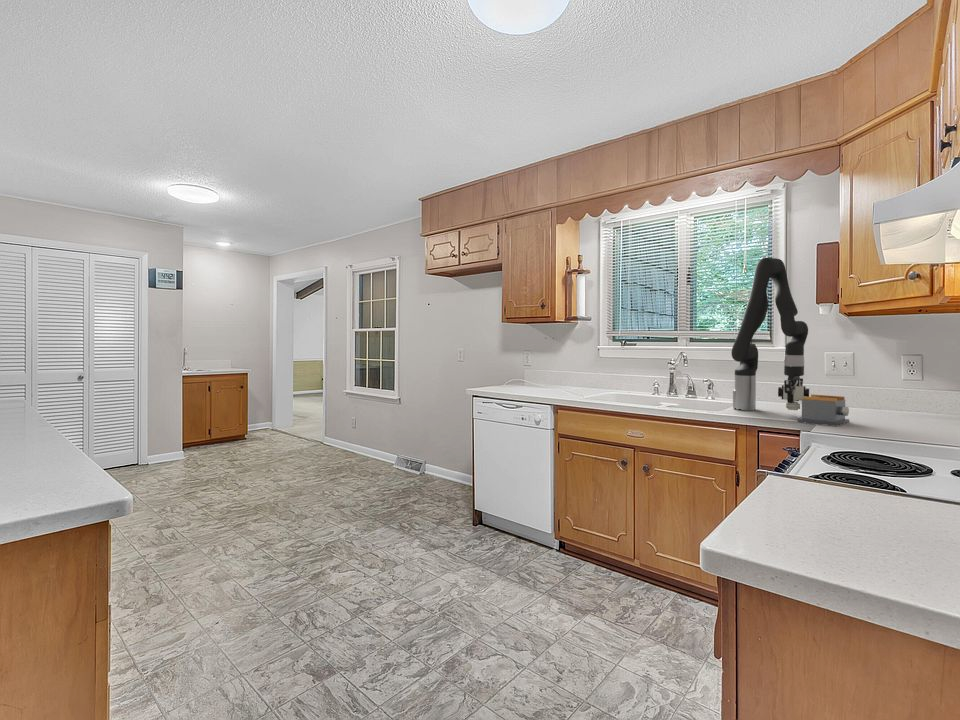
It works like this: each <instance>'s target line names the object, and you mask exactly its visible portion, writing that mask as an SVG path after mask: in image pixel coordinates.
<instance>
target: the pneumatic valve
mask: <svg viewBox="0 0 960 720" xmlns="http://www.w3.org/2000/svg"><path fill="white" fill-rule="evenodd" d="M792 387H794V386H792ZM777 388H778V389H777V396H778V398H781V400H786V401H787V393H785V387H784V384H782V385H781V387H777ZM792 395H793V403H788V402H786V404H785V406H786V407H785V408H786V409H787V410H789V411H798V410H800V409H801V403H799V401H801V402H802V397H803V396H808V397H810V388H807V387H806V385H803V386H796V390H794V393H793V394H792ZM797 400H799V401H797Z"/></svg>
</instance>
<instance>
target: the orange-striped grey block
mask: <svg viewBox="0 0 960 720" xmlns="http://www.w3.org/2000/svg"><path fill="white" fill-rule="evenodd" d="M849 413H850V408H849V406H846V398H845V396H839V395H828V394H827V395H826V394H825V395H824V394H810V396H809V397H808V396H803V397H802V401H801V417H800V418H798V419H797V422H798V423H803V422H806V423H805V424H812V423H813V424H815V425H821V424H828V425H827V426H830V425H839V426H841V425H840V424H842V425H845V424H848V423H850V418H846V417H848V416H849ZM844 423H845V424H844Z"/></svg>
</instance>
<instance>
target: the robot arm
mask: <svg viewBox="0 0 960 720" xmlns="http://www.w3.org/2000/svg"><path fill="white" fill-rule="evenodd" d="M770 279H771V281H772V283H773V285H774V288H775V294H774V295H775V296H774V303H775V306H776V308H777V311H778V313H779V317H780V329H781V331H782V333H783V334H784V336H786V337H790V339H791V340H790V341H788V342H787V343H786V344H785V347H784V348H785V350H784V351H785V354H784V355H785V356H784V365H783V367H784V369H783V370H784V371H783V375H784V376H787V379H784V382H783V383H784V384H783V385H784V387H785V393H787V400H786V403H793V395H792V394H793V393H794V390H796V386H804V378H802V377H803V376H804V375H805V354H804V353H805V344H806V341H807V338H808V335H809V327H808V324H807V323H806V322H805V321H802V320H795V316H797V315H798V308H797V305H796V303H795V301H794V298H793V296H792V293H791V290H790V285H789V279H788V275H787V270H786V266H785V263H784V260H782V259H780V258H776V257H763V258H761V259H760V260H759V261H758V262H757V263H756V266H755V269H754V275H753V280H752V285H751V286H752V287H751V289H750V293H749V297H748V300H747V303H746V306H745V307H746V308H745V310H744V313H743V317H742V321H741V323H740V328H739V329H738V330H739V331H738V333H737V336H736V338H735V341H734V343H733V345H732V348H731V357H732V359H733V360H734V361H735V362H738V363H739V365H738V367H737V368H735V369H734V389H733V390H732V409H733V408H736V409H735V410H738V409H741V410H740V411H755V410H754V409H756V410H757V408H756V406H757V402H756V401H757V400H756V398H757V397H756V396H757V393H756V392H757V388H756V387H757V386H756V385H757V384H756V383H757V382H756V378H757V376H756V374H757V370H758V367H759V349H758V346H756V345H755V344H754V343H752V340H753V337H754V336H755V334H756V332H758V330H759V329H760V328H761V326H762V325H763V323H764V321H765V320H766V317H767V314H768V311H769V297H768V285H769V281H770ZM792 386H794V387H792ZM797 402H800V400H797Z"/></svg>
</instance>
